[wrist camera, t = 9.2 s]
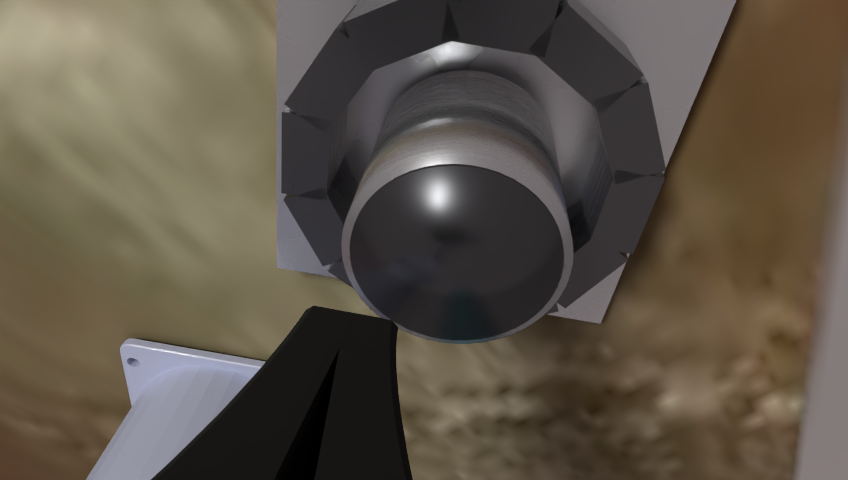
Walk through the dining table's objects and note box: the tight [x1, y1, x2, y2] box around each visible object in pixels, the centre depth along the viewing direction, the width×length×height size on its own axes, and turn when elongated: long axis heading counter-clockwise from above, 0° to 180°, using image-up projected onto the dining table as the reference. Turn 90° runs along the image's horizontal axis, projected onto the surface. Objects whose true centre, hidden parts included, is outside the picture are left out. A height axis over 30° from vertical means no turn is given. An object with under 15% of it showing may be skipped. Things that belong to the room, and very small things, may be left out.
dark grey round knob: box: [341, 70, 573, 344], centre depth 15 cm, size 5×5×5 cm
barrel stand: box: [277, 0, 736, 324], centre depth 16 cm, size 11×11×3 cm
